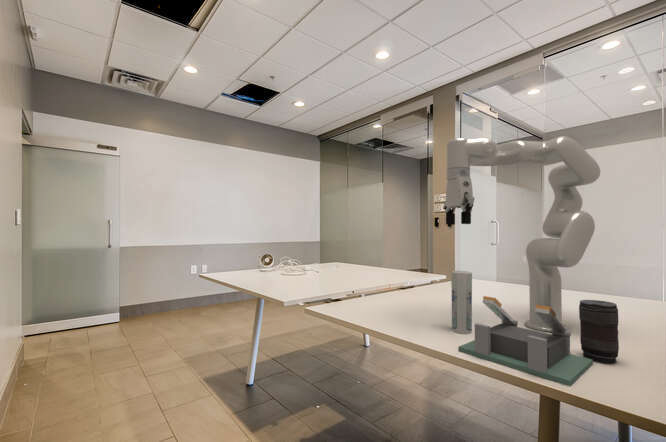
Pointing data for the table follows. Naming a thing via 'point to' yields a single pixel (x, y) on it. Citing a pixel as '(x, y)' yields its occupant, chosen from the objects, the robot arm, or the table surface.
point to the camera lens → (599, 330)
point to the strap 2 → (549, 318)
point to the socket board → (528, 351)
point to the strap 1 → (496, 308)
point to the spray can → (461, 301)
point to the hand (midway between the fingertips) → (457, 224)
